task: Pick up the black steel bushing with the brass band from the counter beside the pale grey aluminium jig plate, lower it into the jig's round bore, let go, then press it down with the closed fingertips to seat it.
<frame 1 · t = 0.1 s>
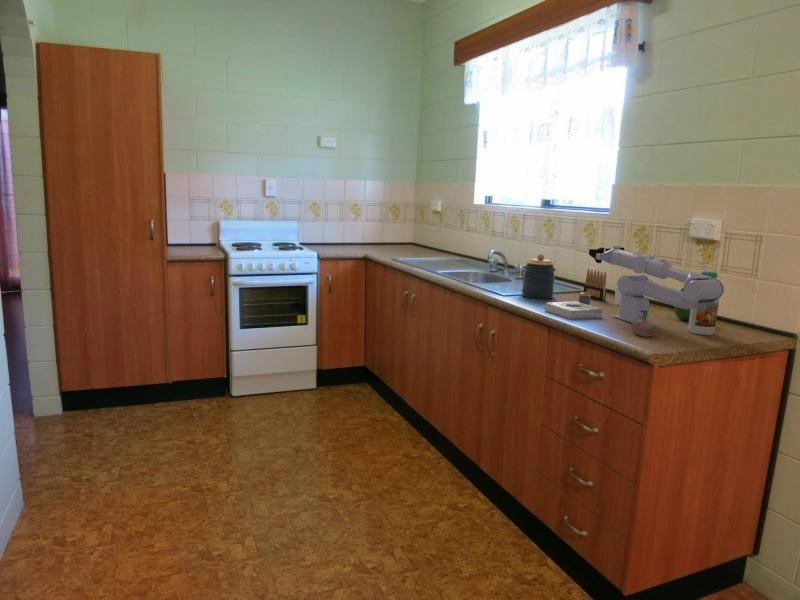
hand: (597, 251, 221), 22 cm above the counter, tool horizontal, fingers open, 7 cm apart
jig: (572, 313, 212), on the counter
canister: (537, 297, 244), on the counter
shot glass: (622, 305, 234), on the counter
bushing: (583, 308, 223), on the counter
garlic bulb: (642, 335, 185), on the counter
milk bottle: (700, 333, 191), on the counter
avocado: (684, 320, 210), on the counter
ammunition clip: (593, 299, 245), on the counter
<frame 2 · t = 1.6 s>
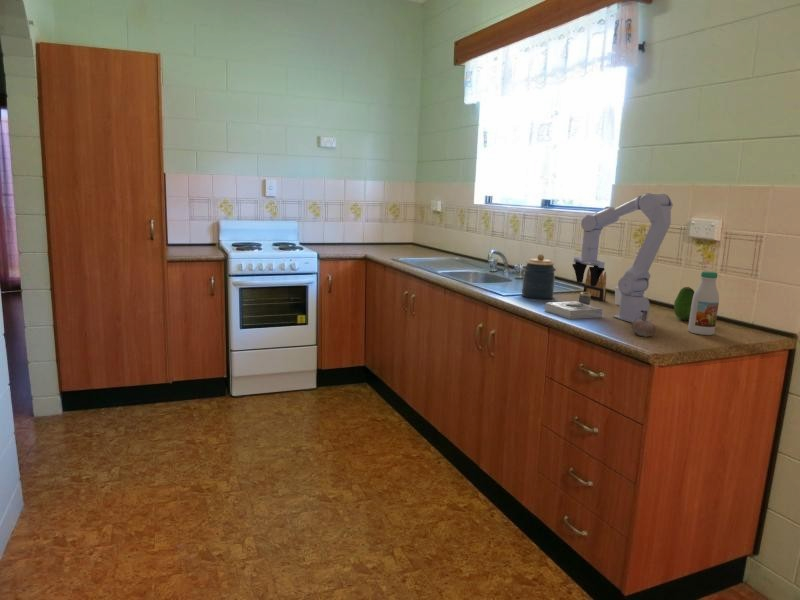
hand: (586, 284, 221), 9 cm above the counter, tool pointing down, fingers open, 7 cm apart
nothing on the counter moved.
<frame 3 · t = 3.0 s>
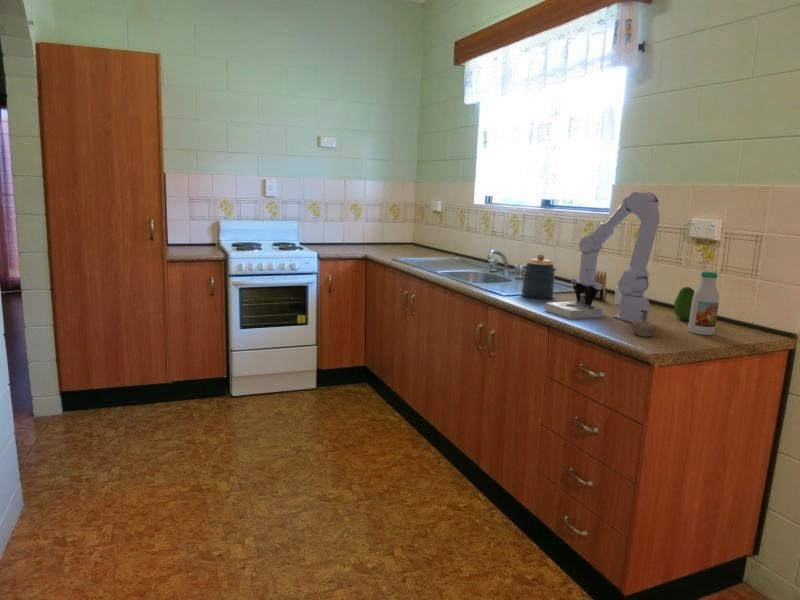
hand: (584, 304, 223), 1 cm above the counter, tool pointing down, fingers closed on bushing, 4 cm apart
bushing: (583, 308, 223), on the counter, touching gripper
everything else where it was.
when the fingers open (4 cm above the counter, at t = 6.2 s): bushing drops 2 cm, resting in jig.
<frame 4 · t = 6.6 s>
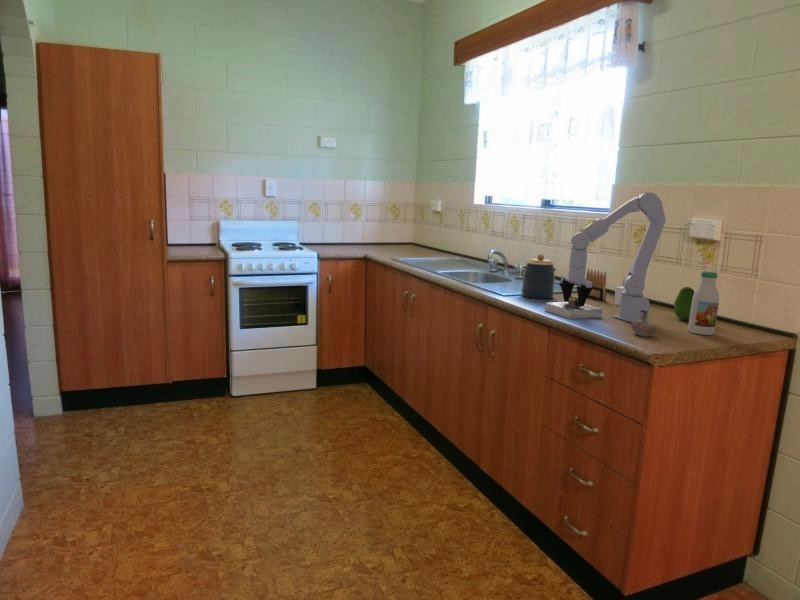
hand: (573, 303, 212), 4 cm above the counter, tool pointing down, fingers open, 7 cm apart
bushing: (572, 314, 212), resting in jig
everything else where it was.
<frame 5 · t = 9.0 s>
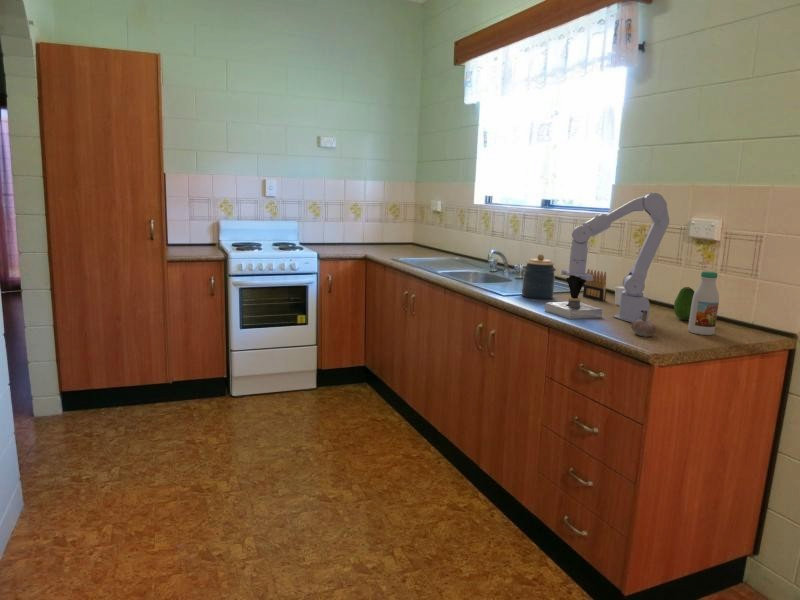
hand: (574, 297, 211), 6 cm above the counter, tool pointing down, fingers closed, pressing on bushing
bushing: (572, 313, 212), resting in jig, touching gripper
everything else where it was.
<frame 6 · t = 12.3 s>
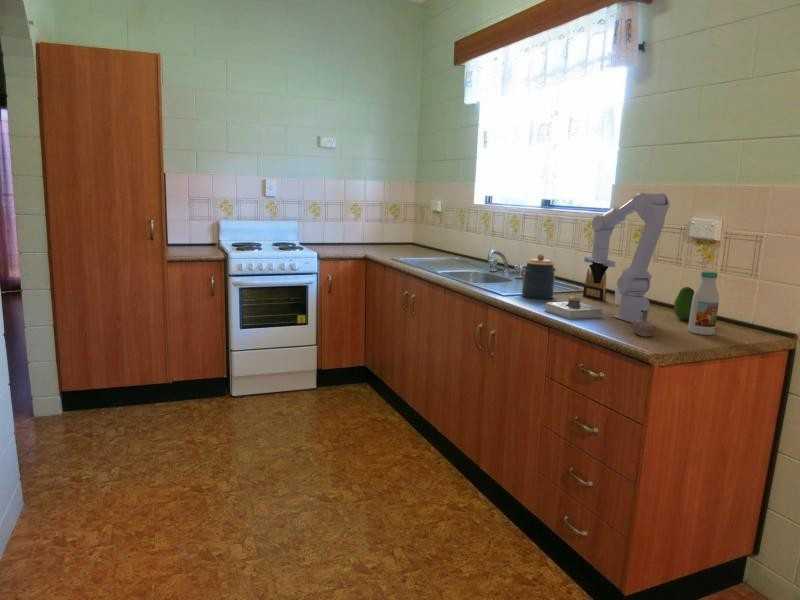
hand: (596, 283, 224), 9 cm above the counter, tool pointing down, fingers closed
bushing: (572, 313, 212), resting in jig
everything else where it was.
at the end: bushing 0.1 cm from the jig (horizontally); bushing resting in jig; bushing tilted 1° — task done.
